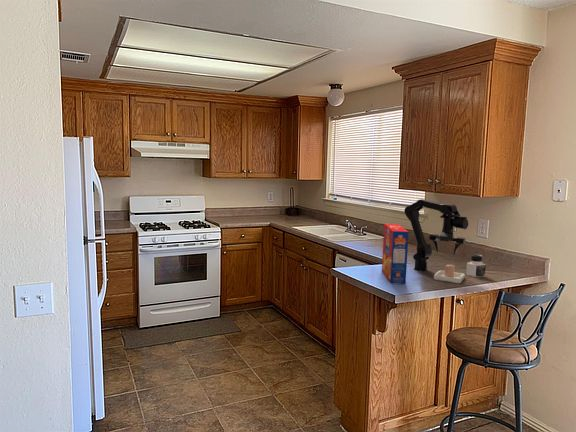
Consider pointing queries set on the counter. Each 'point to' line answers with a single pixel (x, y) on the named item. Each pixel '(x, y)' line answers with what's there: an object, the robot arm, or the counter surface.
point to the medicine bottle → (476, 266)
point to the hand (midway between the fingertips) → (445, 253)
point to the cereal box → (395, 253)
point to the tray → (457, 277)
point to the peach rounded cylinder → (449, 270)
